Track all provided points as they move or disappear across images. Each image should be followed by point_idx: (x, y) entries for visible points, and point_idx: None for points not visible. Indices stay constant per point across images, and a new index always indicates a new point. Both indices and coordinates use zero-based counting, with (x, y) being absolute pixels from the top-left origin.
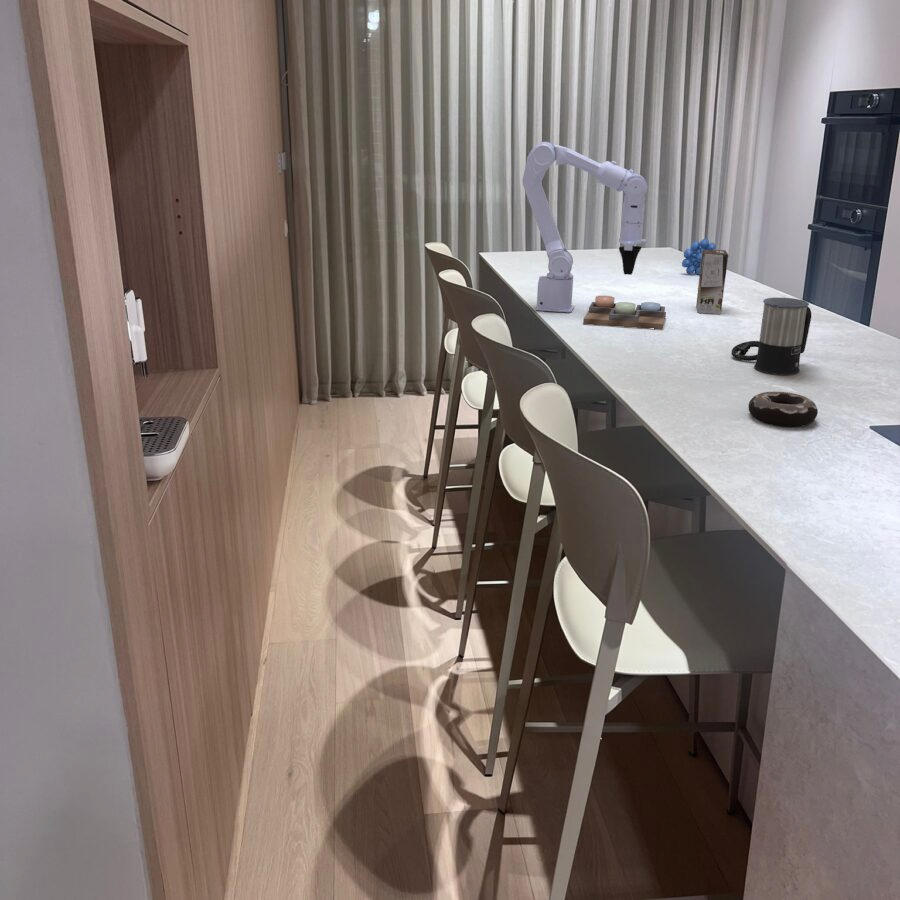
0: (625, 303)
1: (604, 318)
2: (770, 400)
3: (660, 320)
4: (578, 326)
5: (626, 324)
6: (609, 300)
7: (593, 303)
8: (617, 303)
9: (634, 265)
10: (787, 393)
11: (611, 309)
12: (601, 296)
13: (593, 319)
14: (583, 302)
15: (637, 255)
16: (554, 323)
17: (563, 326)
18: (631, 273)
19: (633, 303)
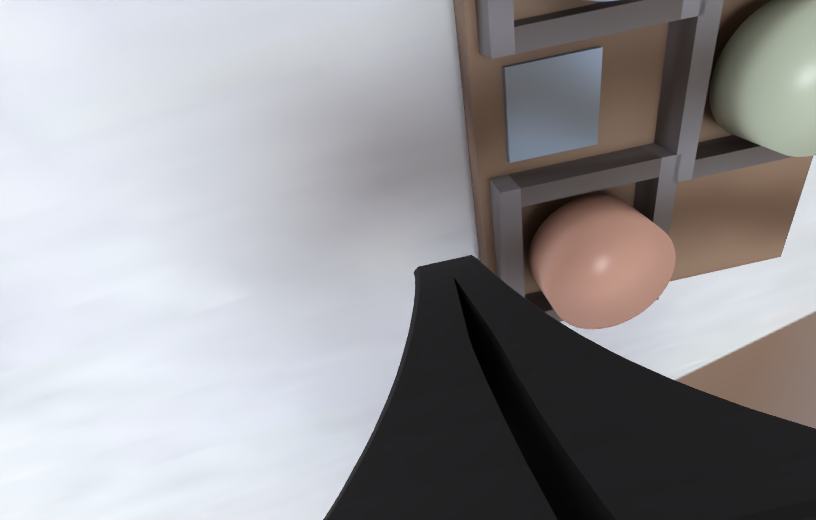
0: (814, 89)
1: (775, 168)
2: None
3: None
4: (800, 244)
5: None
6: (663, 232)
7: (553, 314)
8: (814, 144)
9: (428, 316)
10: None
11: (673, 183)
12: (587, 305)
13: (794, 211)
14: (265, 400)
15: (380, 439)
16: (747, 336)
17: (801, 292)
18: (479, 263)
19: (810, 26)
